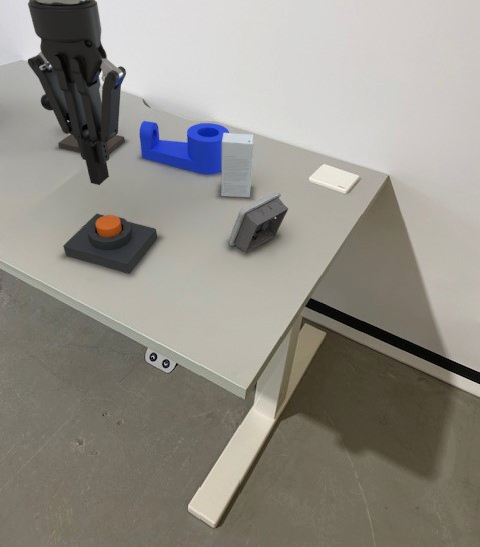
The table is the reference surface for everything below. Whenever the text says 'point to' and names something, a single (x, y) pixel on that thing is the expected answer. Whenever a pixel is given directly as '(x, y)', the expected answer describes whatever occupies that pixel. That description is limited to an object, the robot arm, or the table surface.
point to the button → (108, 226)
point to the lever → (46, 103)
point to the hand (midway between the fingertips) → (100, 179)
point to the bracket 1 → (72, 145)
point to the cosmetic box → (236, 164)
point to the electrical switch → (258, 222)
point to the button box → (111, 245)
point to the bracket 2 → (185, 147)
